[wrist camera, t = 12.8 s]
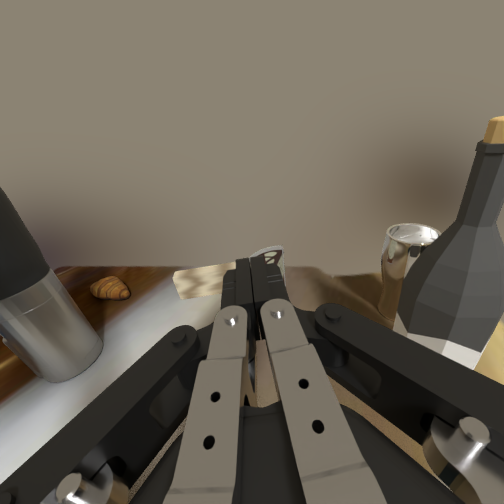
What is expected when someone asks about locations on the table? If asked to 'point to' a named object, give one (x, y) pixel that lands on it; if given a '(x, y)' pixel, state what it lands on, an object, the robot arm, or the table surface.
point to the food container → (273, 257)
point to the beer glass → (401, 261)
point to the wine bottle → (462, 267)
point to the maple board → (201, 280)
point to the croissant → (110, 289)
